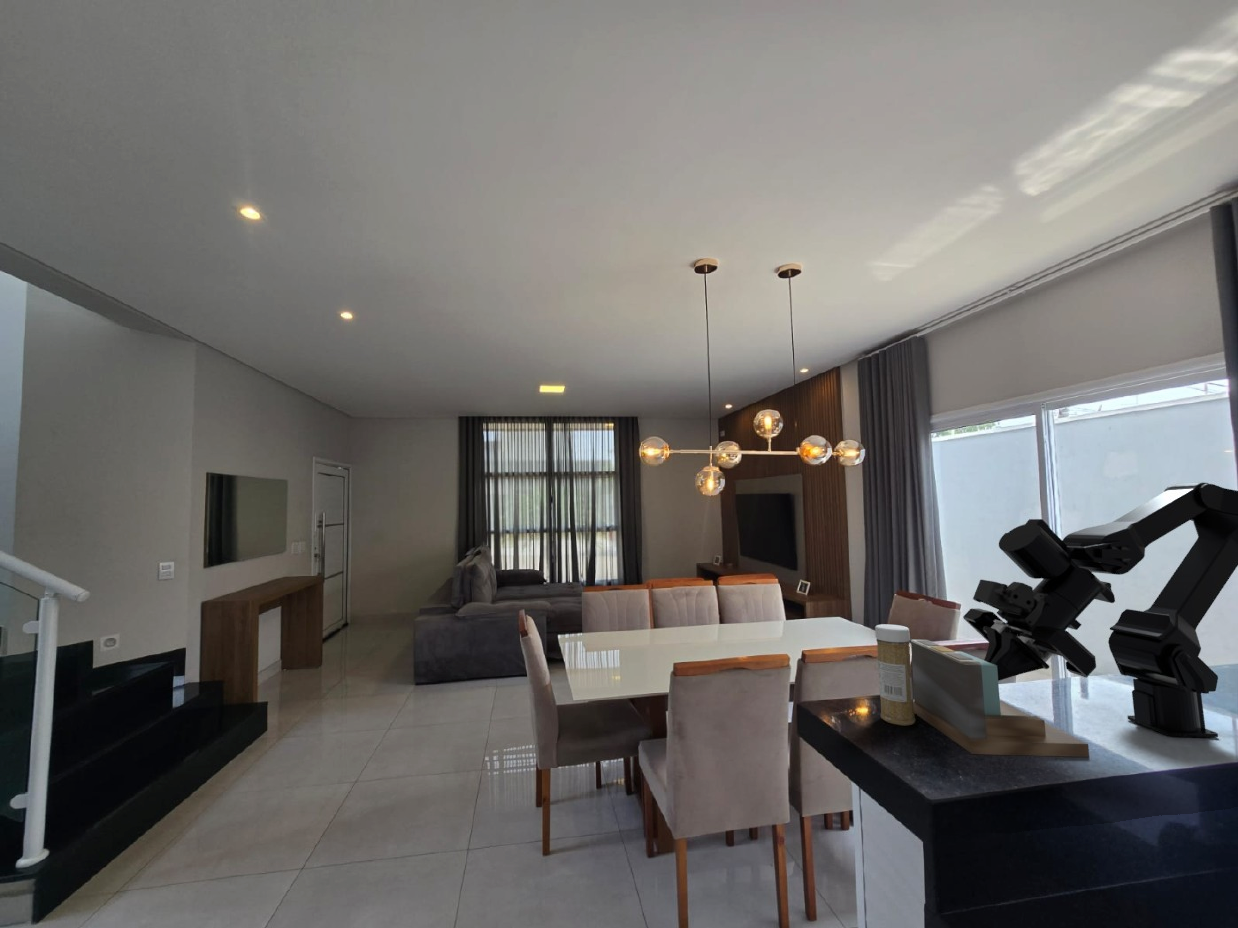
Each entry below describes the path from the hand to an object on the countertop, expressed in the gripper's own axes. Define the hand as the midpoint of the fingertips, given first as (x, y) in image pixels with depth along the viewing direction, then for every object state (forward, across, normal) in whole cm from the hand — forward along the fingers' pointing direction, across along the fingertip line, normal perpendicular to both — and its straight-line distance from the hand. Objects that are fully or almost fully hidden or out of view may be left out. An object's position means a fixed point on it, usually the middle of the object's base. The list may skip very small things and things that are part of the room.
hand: (982, 681), depth 74 cm
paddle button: (+5, 0, +2) cm, 5 cm away
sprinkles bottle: (+12, -3, -3) cm, 13 cm away
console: (+4, 0, +5) cm, 7 cm away
